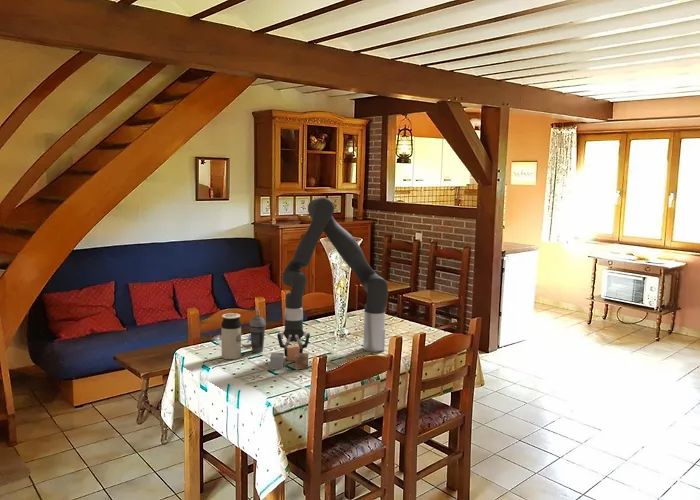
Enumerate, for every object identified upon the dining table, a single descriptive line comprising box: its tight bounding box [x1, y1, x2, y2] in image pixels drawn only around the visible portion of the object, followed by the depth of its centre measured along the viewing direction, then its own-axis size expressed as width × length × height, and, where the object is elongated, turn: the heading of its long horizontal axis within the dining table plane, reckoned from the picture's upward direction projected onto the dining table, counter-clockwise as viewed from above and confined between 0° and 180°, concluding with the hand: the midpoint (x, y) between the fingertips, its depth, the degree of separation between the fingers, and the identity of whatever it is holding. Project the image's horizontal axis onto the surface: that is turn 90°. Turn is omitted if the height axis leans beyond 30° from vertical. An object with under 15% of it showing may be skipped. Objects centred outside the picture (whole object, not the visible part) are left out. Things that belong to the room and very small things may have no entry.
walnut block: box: [294, 352, 309, 370], centre depth 232 cm, size 5×5×5 cm
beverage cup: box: [248, 305, 267, 354], centre depth 248 cm, size 7×7×20 cm
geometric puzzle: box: [246, 332, 251, 343], centre depth 258 cm, size 7×7×8 cm
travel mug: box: [220, 312, 242, 360], centre depth 240 cm, size 8×8×18 cm
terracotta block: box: [286, 344, 300, 362], centre depth 240 cm, size 5×5×5 cm
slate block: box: [269, 352, 285, 370], centre depth 231 cm, size 5×5×5 cm
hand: (293, 356), depth 240 cm, fingers closed on terracotta block, 5 cm apart
